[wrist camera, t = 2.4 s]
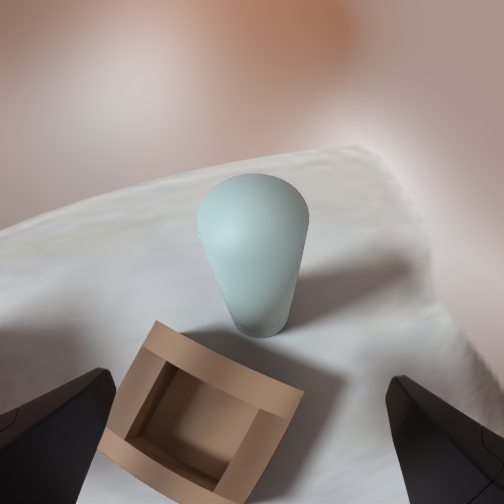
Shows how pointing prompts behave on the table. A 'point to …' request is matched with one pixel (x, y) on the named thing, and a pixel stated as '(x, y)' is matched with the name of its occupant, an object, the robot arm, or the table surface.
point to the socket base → (195, 421)
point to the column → (255, 248)
